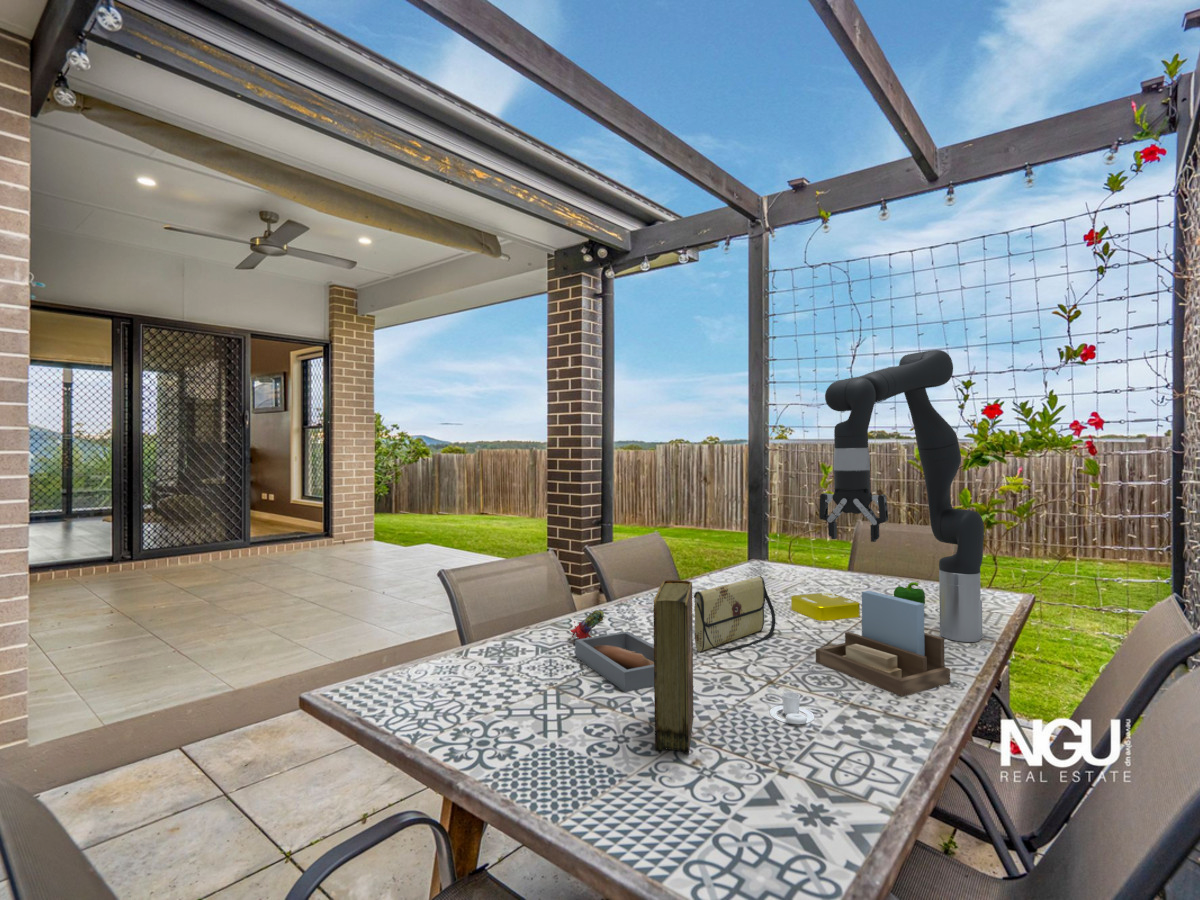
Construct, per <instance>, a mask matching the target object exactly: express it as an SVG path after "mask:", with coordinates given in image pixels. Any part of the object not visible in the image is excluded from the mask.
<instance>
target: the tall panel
mask: <svg viewBox="0 0 1200 900" xmlns="http://www.w3.org/2000/svg"><path fill="white" fill-rule="evenodd" d="M924 633H925V605H924V604H923V603H919V602H914V601H910V600H906V599H902V598H898V597H894V595H890V594H884V593H881V592H876V591H872V590H864V591H861V636H864V637H867V638H870V639H873V640H876V641H879V642H882V643H885V644H888V645H891V646H895V647H898V648H901V649H904V650H907V651H910V652H913V653H916V654H919V655H922V656H925V644H924Z"/></svg>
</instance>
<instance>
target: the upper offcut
mask: <svg viewBox="0 0 1200 900" xmlns="http://www.w3.org/2000/svg"><path fill="white" fill-rule="evenodd" d="M846 658H849V659H852V660H855V661H858V662H861V663H864V664H867V665H870V666H873V667H876V668H879V669H882V670H886V671H889V670H892V669H895V668H897V656H896V655H892V654H889V653H886V652H882V651H879V650H876V649H872V648H869V647H866V646H862V645H859V644H853V645H849V646H846Z"/></svg>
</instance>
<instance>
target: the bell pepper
mask: <svg viewBox="0 0 1200 900" xmlns="http://www.w3.org/2000/svg"><path fill="white" fill-rule="evenodd" d="M912 586H916V587H918V586H919V582H917V581H912V582H909V583H908V585H907V586H906V587H903V586H900V585H899V586H897V587H896V588H895V589H894V590H893V596H894V597H898V598H902V599H906V600H910V601H914V602H919V603H923V604H924V606H925V605H926V593H925V591H924V589H921V588H914V587H912Z"/></svg>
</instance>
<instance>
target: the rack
mask: <svg viewBox="0 0 1200 900" xmlns="http://www.w3.org/2000/svg"><path fill="white" fill-rule="evenodd" d="M853 644H859V645H862V646H866V647H869V648H872V649H876V650H879V651H882V652H886V653H889V654H892V655H896V656H897V668H899V669H902V678H898V677H895V676H893V675H890V674H887V673H885V672H882V671H879V670H877V669H874V668H871V667H869V666H866V665H863V664H860V663H858V662H855V661H852V660H850V659H847V658H844V657H842V656H844V655H846V646H849V645H853ZM924 644H925V656H922V655H919V654H916V653H913V652H910V651H907V650H904V649H901V648H898V647H895V646H891V645H888V644H885V643H882V642H879V641H876V640H873V639H870V638H867V637H864V636H862V635H860V634H857V633H854V632H852V631H851V632H850V631H845V632H844V642H842V643H838V644H834V645H828V646H824V647H819V648H815V663H817V664H819V665H823V666H825V667H827V668H829V669H832V670H835V671H838V672H840V673H842V674H844V675H847V676H850V677H852V678H855V679H857V680H860V681H863V682H865V683H867V684H870V685H872V686H874V687H877V688H880V689H883V690H885V691H888V692H890V693H893V694H895V695H897V696H899V697H905V696H909V695H912V694H915V693H919V692H922V691H926V690H930V689H933V688H937V687H940V686H939V685H941V686H944V685H947V683H948V684H950V683H951V668H950V667H946V666H945V638H944V637H942V636H941V637H940V636H936V635H935V634H934V635H933V634H929V633H926V632H924ZM943 684H944V685H943ZM936 686H937V687H936Z"/></svg>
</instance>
